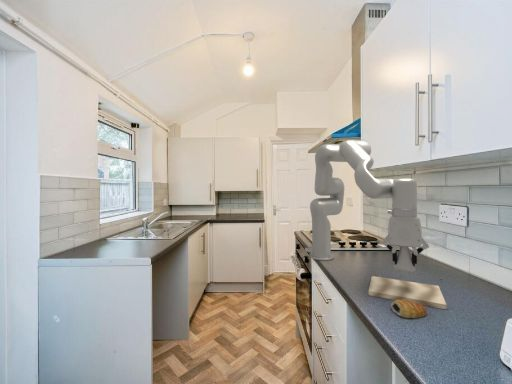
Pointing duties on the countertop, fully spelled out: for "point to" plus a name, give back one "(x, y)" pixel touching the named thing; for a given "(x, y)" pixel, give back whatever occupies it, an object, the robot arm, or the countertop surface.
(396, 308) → the pastry
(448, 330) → the countertop surface
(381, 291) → the birch board
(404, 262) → the flask
